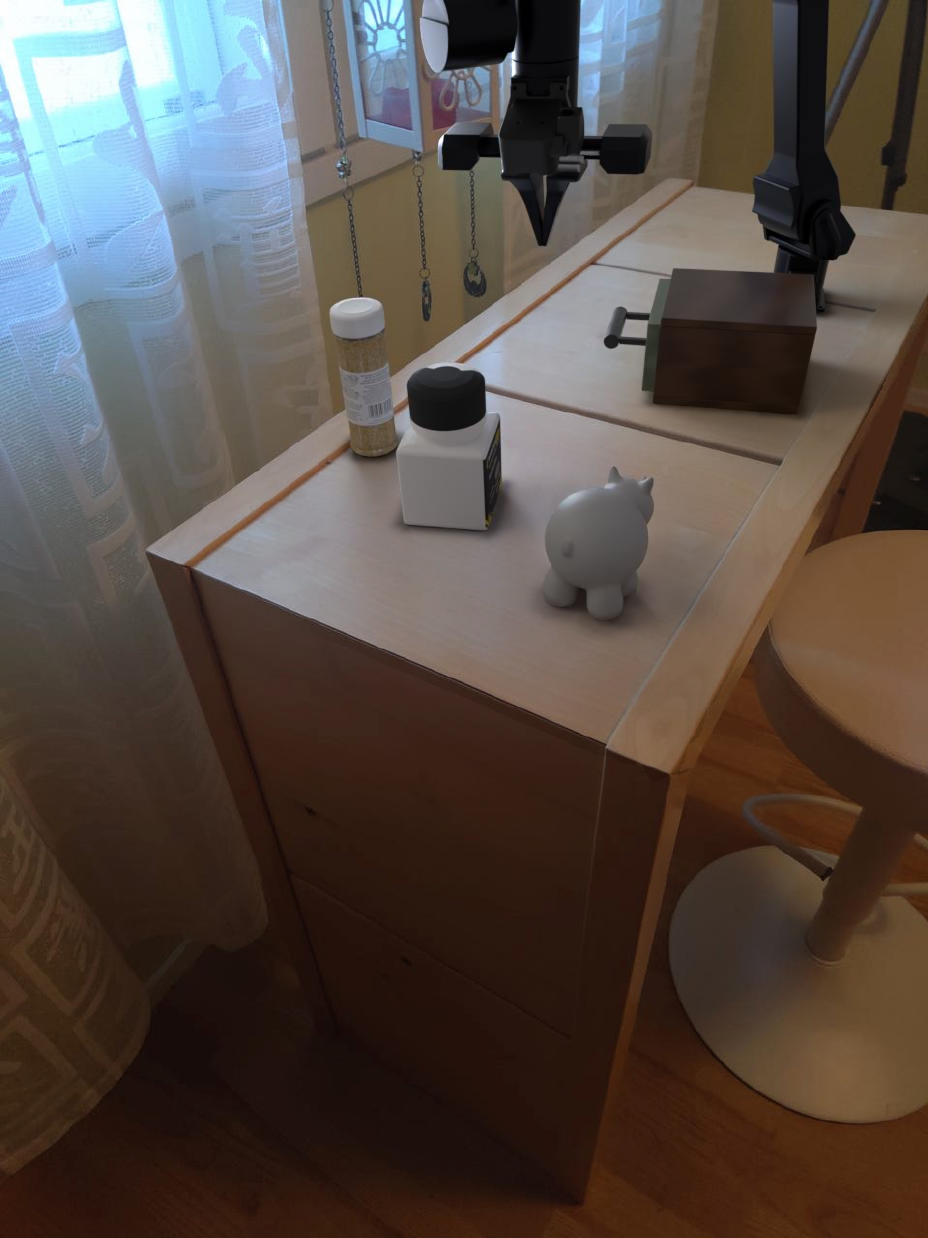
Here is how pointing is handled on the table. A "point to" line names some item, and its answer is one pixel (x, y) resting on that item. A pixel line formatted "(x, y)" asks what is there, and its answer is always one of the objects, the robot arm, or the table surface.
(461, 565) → the table surface
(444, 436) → the medicine bottle
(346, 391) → the sprinkles bottle
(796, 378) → the cabinet
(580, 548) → the chubby cartoon animal
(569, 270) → the table surface
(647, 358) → the drawer
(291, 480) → the table surface
